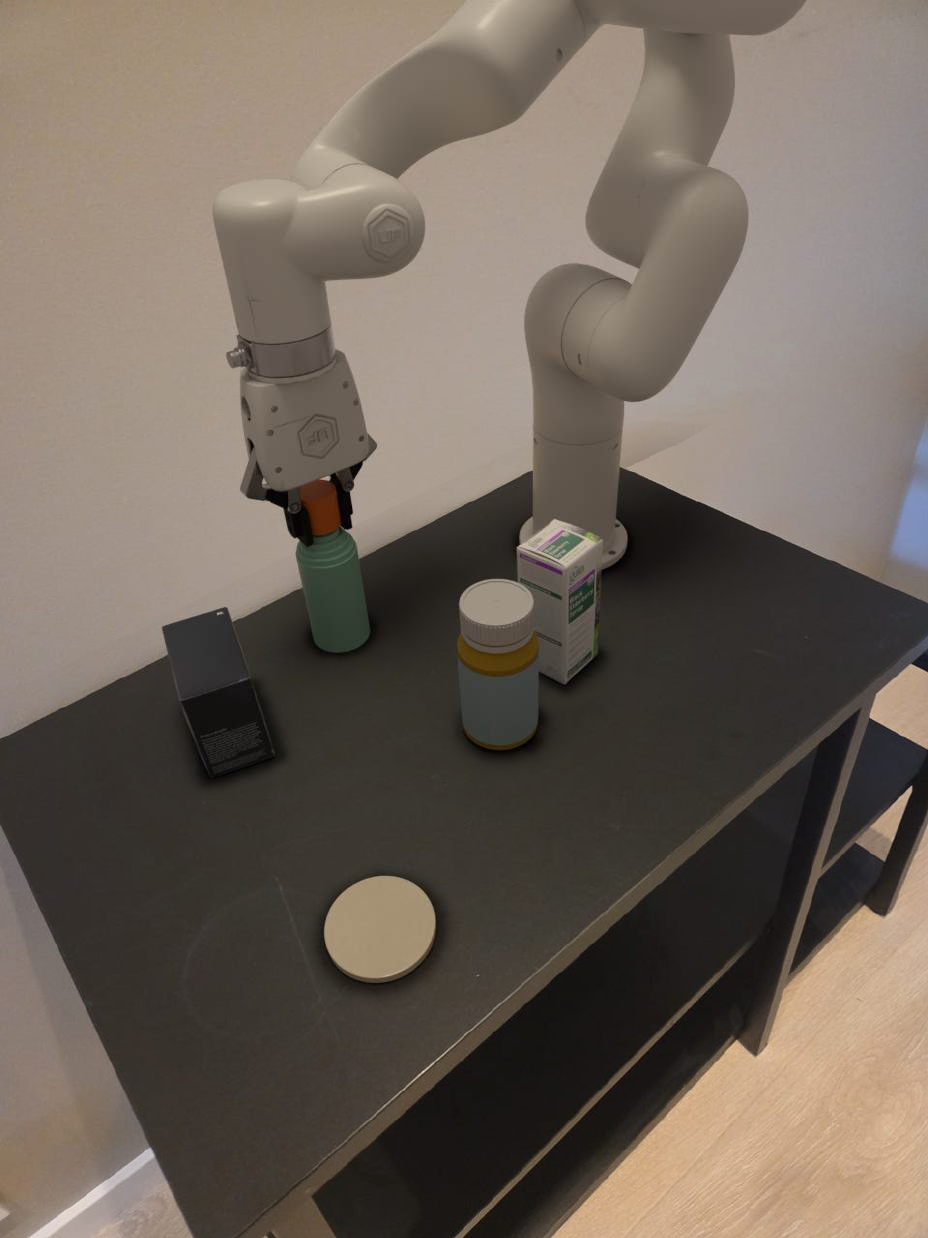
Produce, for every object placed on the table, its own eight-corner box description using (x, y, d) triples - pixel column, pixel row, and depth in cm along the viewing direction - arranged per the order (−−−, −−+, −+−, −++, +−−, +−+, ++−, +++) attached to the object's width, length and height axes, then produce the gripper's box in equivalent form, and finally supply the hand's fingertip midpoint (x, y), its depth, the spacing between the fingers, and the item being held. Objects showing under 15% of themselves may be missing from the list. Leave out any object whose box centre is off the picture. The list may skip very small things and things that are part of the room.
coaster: (346, 873, 70) (344, 867, 69) (447, 890, 68) (447, 885, 67) (309, 971, 63) (307, 966, 63) (420, 993, 62) (419, 988, 61)
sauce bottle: (324, 612, 95) (297, 478, 84) (377, 618, 94) (356, 482, 83) (305, 649, 90) (274, 512, 79) (360, 655, 89) (336, 517, 78)
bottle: (532, 759, 78) (532, 633, 68) (455, 749, 79) (445, 624, 69) (542, 703, 83) (544, 579, 73) (470, 695, 84) (463, 572, 74)
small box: (187, 704, 85) (157, 623, 78) (252, 684, 87) (228, 603, 80) (206, 781, 77) (175, 699, 71) (278, 757, 79) (254, 675, 72)
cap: (338, 509, 85) (332, 475, 82) (345, 530, 82) (339, 496, 79) (298, 517, 84) (291, 483, 82) (304, 538, 81) (297, 504, 79)
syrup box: (565, 687, 84) (569, 567, 75) (517, 661, 87) (515, 543, 78) (598, 655, 88) (606, 537, 78) (551, 631, 91) (553, 515, 81)
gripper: (214, 393, 66) (262, 584, 78) (397, 333, 73) (415, 516, 85) (176, 362, 70) (227, 546, 82) (351, 309, 78) (375, 485, 89)
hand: (322, 529), depth 83 cm, fingers closed on cap, 3 cm apart
